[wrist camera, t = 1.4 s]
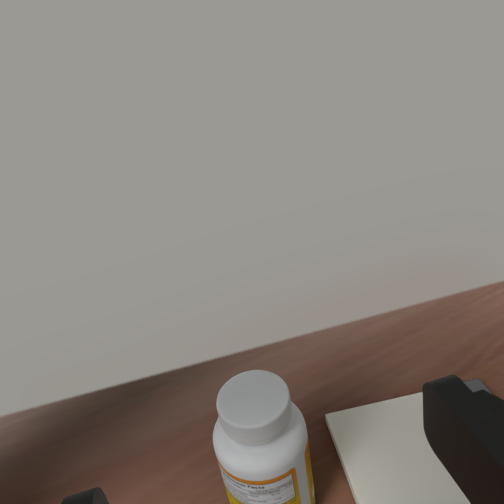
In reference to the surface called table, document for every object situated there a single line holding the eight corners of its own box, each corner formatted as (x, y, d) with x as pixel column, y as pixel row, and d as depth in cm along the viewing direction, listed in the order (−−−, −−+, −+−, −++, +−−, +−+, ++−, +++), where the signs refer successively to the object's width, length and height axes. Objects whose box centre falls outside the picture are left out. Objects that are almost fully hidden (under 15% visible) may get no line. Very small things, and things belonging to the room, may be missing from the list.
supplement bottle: (265, 450, 32) (245, 347, 27) (331, 490, 29) (322, 382, 24) (214, 512, 28) (181, 408, 24) (283, 566, 25) (261, 458, 20)
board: (379, 567, 24) (379, 558, 24) (325, 421, 33) (324, 413, 33) (581, 515, 25) (585, 506, 25) (477, 386, 34) (478, 378, 33)
